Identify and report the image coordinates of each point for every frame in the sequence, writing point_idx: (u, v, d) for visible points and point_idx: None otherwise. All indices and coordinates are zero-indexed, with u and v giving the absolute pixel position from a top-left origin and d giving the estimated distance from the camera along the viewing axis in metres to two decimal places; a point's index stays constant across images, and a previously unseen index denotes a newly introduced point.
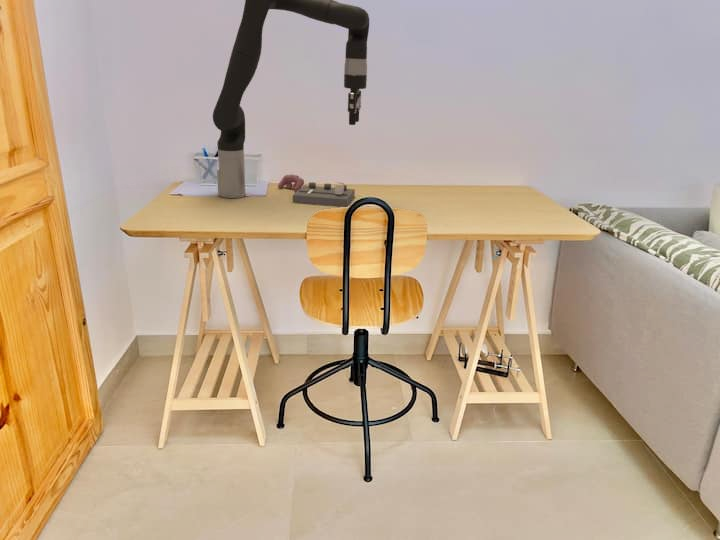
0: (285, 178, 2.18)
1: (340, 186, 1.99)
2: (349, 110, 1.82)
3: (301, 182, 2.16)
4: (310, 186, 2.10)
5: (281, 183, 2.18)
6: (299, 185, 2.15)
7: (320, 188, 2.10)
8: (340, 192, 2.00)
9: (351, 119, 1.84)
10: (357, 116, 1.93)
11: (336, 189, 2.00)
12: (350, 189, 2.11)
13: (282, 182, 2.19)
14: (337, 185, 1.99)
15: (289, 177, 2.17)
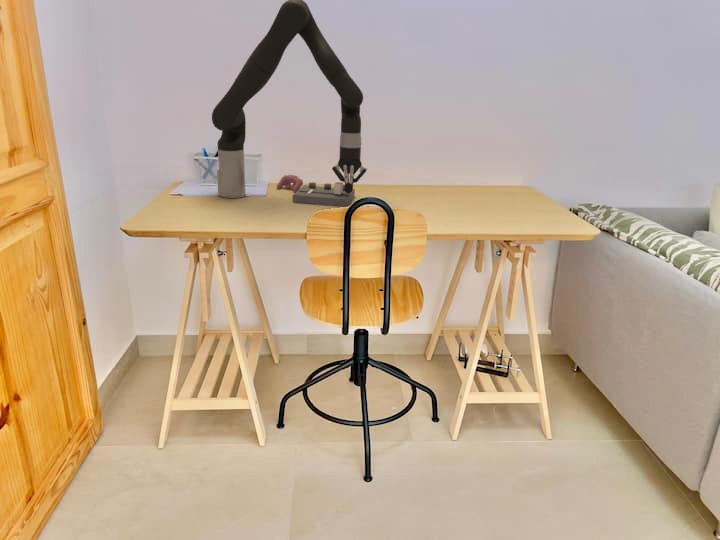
0: (284, 178, 2.18)
1: (339, 186, 1.99)
2: (356, 181, 1.99)
3: (300, 183, 2.15)
4: (310, 186, 2.10)
5: (280, 183, 2.18)
6: (298, 185, 2.14)
7: (320, 188, 2.10)
8: (339, 192, 2.00)
9: (352, 188, 2.01)
10: None
11: (335, 189, 2.00)
12: None
13: (281, 182, 2.18)
14: (336, 185, 1.99)
15: (288, 177, 2.17)
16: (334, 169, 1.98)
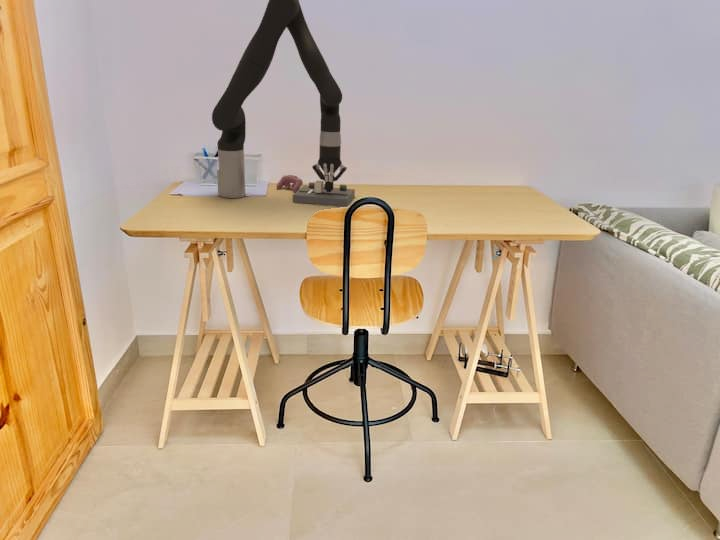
0: (283, 178, 2.18)
1: (319, 184, 2.00)
2: (336, 180, 2.00)
3: (300, 183, 2.15)
4: (310, 186, 2.10)
5: (279, 183, 2.17)
6: (298, 185, 2.14)
7: None
8: (319, 190, 2.01)
9: (332, 186, 2.02)
10: None
11: (315, 187, 2.01)
12: (350, 189, 2.11)
13: (280, 182, 2.18)
14: (316, 183, 2.00)
15: (287, 177, 2.16)
16: (314, 168, 1.99)
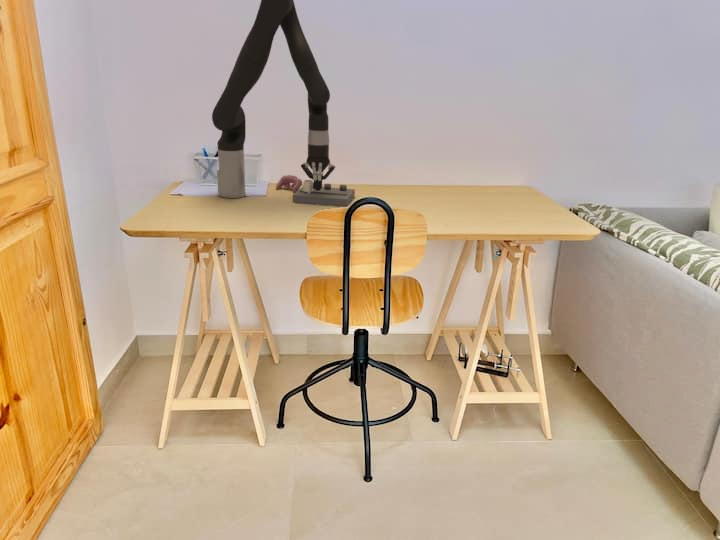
0: (283, 179, 2.17)
1: (308, 184, 2.01)
2: (325, 178, 2.01)
3: (299, 183, 2.15)
4: None
5: (279, 184, 2.17)
6: (297, 186, 2.14)
7: None
8: (308, 189, 2.02)
9: (321, 185, 2.03)
10: None
11: (304, 187, 2.02)
12: (350, 189, 2.11)
13: (280, 183, 2.17)
14: (305, 183, 2.01)
15: (287, 178, 2.16)
16: (303, 166, 2.00)
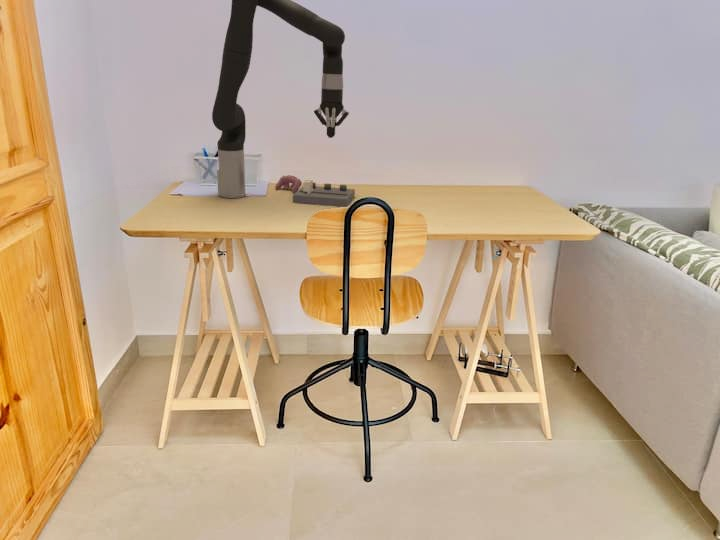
0: (282, 179, 2.17)
1: (308, 184, 2.01)
2: (338, 125, 1.98)
3: (299, 183, 2.14)
4: None
5: (278, 184, 2.17)
6: (297, 186, 2.13)
7: (320, 188, 2.10)
8: (308, 189, 2.02)
9: (334, 132, 2.00)
10: None
11: (304, 187, 2.02)
12: (350, 189, 2.11)
13: (279, 183, 2.17)
14: (305, 183, 2.01)
15: (286, 178, 2.16)
16: (316, 112, 1.97)
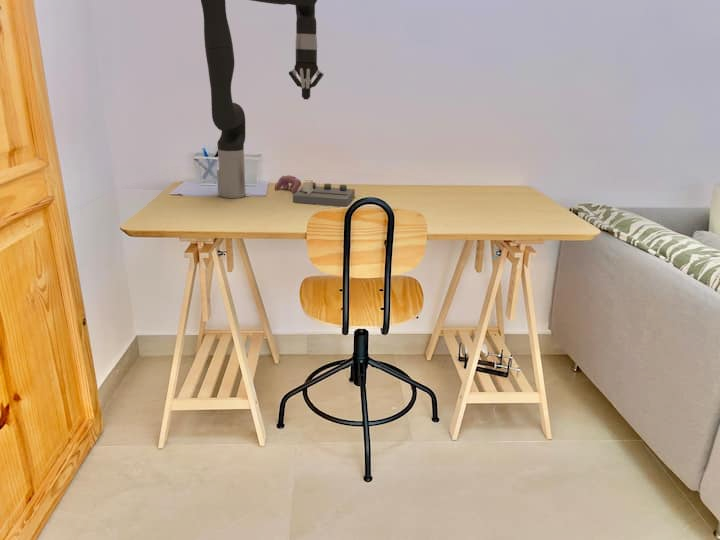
0: (282, 179, 2.17)
1: (308, 184, 2.01)
2: (313, 86, 1.98)
3: (298, 183, 2.14)
4: None
5: (278, 184, 2.16)
6: (296, 186, 2.13)
7: (320, 188, 2.10)
8: (308, 189, 2.02)
9: (309, 94, 2.00)
10: None
11: (304, 187, 2.02)
12: (350, 189, 2.11)
13: (279, 183, 2.17)
14: (305, 183, 2.01)
15: (286, 178, 2.15)
16: (291, 73, 1.98)
